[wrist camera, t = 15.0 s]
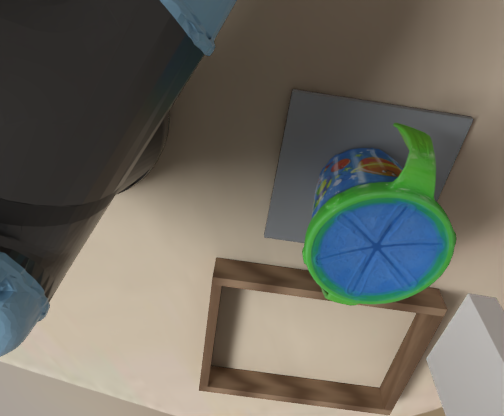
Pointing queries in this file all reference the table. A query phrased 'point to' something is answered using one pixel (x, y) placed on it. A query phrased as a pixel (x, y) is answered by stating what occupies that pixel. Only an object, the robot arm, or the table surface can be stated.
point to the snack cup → (378, 225)
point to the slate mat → (347, 148)
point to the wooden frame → (310, 390)
